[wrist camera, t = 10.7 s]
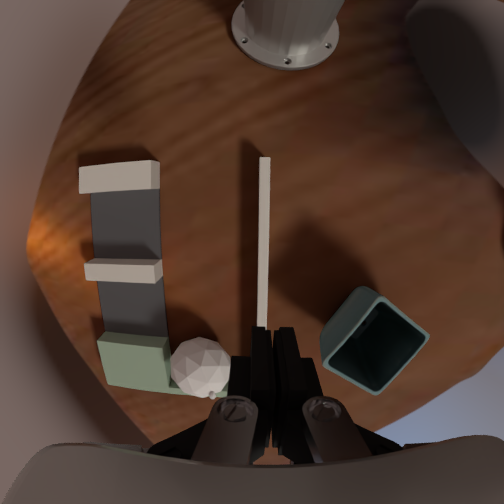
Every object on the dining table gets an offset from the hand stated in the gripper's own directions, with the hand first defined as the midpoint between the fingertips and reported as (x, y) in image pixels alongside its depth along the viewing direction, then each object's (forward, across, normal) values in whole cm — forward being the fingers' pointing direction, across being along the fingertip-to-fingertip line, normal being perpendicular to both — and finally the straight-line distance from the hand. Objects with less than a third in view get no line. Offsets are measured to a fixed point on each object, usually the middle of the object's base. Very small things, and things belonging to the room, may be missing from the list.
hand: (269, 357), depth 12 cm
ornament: (+21, +6, +14) cm, 27 cm away
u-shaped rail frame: (+22, +10, +6) cm, 24 cm away
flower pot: (+22, -12, +9) cm, 26 cm away
